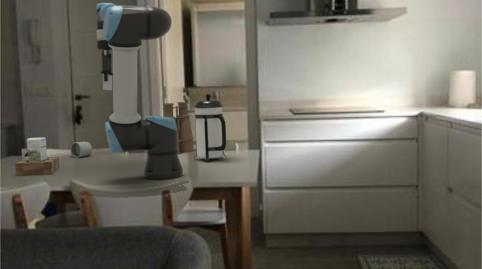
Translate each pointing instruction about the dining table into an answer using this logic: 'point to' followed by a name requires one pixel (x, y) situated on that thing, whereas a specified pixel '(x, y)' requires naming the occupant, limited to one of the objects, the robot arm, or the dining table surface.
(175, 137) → the robot arm
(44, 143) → the syrup box
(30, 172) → the holder block
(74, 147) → the grey cylinder
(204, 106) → the coffee press
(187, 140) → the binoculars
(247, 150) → the dining table surface
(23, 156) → the mug
